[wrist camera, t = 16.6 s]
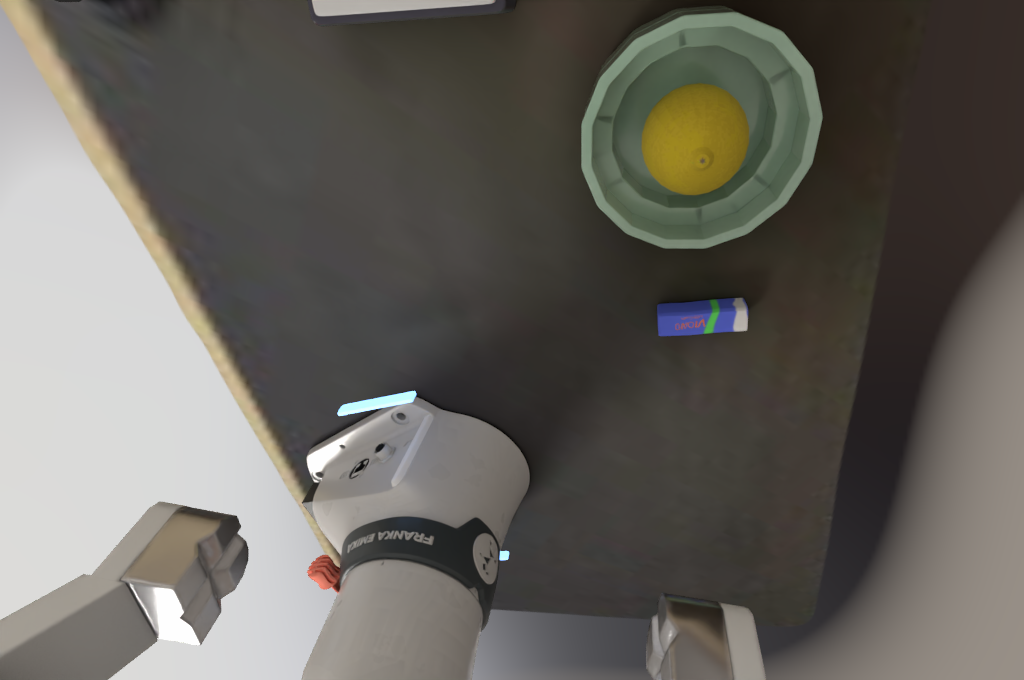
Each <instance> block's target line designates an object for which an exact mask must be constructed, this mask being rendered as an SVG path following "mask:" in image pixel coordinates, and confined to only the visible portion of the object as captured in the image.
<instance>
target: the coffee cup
mask: <svg viewBox="0 0 1024 680" xmlns="http://www.w3.org/2000/svg"><path fill="white" fill-rule="evenodd" d="M56 1H58V2H79V1H81V0H56Z"/></svg>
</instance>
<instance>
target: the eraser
mask: <svg viewBox="0 0 1024 680" xmlns="http://www.w3.org/2000/svg"><path fill="white" fill-rule="evenodd" d="M657 320H658V334H659V336H680V335H696V334H706V333H716V332H733V331H746V330H747V325H748V306H747V304H746V302H745V300H744V298H727V299H713V300H704V301H695V302H685V303H663V304H658V305H657Z"/></svg>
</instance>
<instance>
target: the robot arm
mask: <svg viewBox="0 0 1024 680" xmlns="http://www.w3.org/2000/svg"><path fill="white" fill-rule="evenodd" d="M415 396H416V392H415V391H411V392H406V393H401V394H396V395H391V396H386V397H381V398H376V399H370V400H365V401H360V402H355V403H350V404H345V405H342V406H341V408H340V410H339V411H338V415H339V416H342V415H347V414H352V413H357V412H363V411H368V410H373V409H378V408H382V409H381V410H379V411H377V412H375V413H374V414H372V415H370V416H368V417H366V418H365V419H363V420H361V421H359V422H357V423H356V424H354V425H352V426H350V427H348V428H347V429H345V430H343V431H341V432H339V433H338V434H336V435H334V436H332V437H330V438H329V439H327V440H325V441H323V442H322V443H320V444H318V445H316V446H315V447H313V448H312V449H310V451H309V453H308V455H307V465H308V469H309V472H310V474H311V476H312V478H313V480H314V482H315V483H313V485H312V486H311V488H310V490H309V492H308V493H307V495H306V497H305V498H304V500H303V502H302V504H303V505H304V506H305V508H306V509H307V510H308V512H309V513H310V514H311V516H312V517H313V518H314V520H315V521H316V522H317V524H318V525H319V527H320V529H321V530H322V532H323V533H324V535H325V536H326V537H327V538H328V540H329V541H330V542H331V544H332V545H333V546H334V547H335V549H336V550H337V551H338V552H339V554H340V555H341V563H340V568H339V567H337V566H336V565H335V564H334V563H333V561H332V559H331V558H330V557H329V556H328V555H322V556H320V557H318V558H317V559H316V560H315V561H313V562H312V563H311V564H312V565H311V566H310V567H309V569H310V570H308V572H307V573H308V576H309V577H310V578H311V579H312V580H314V581H315V582H317V583H318V584H319V586H320V588H321V589H329V588H331V587H332V588H333V589H334V590H335V591H336V592H337V593H338V595H337V597H336V599H335V602H334V604H333V606H332V609H331V610H330V613H329V615H328V617H327V620H326V622H325V624H324V626H323V628H322V631H321V633H320V635H319V637H318V640H317V642H316V644H315V646H314V649H313V651H312V653H311V655H310V658H309V660H308V662H307V664H306V667H305V669H304V672H303V676H302V680H472V675H473V668H474V663H475V657H476V651H477V646H478V641H479V636H480V632H481V631H482V630H483V629H484V628H485V626H486V624H487V622H488V619H489V615H490V610H491V606H492V602H493V598H494V593H495V588H496V584H497V578H498V570H499V561H500V560H508V556H509V552H508V551H500V550H501V547H502V544H503V542H504V539H505V536H506V534H507V531H508V528H509V526H510V523H511V521H512V519H513V517H514V514H515V512H516V510H517V508H518V506H519V505H520V503H521V501H522V499H523V498H524V496H525V494H526V492H527V490H528V487H529V482H530V473H529V468H528V465H527V462H526V460H525V457H524V456H523V454H522V452H521V451H520V449H519V448H518V447H517V446H516V445H515V443H514V442H513V441H512V440H511V439H510V438H508V437H507V436H506V435H505V434H504V433H502V432H501V431H499V430H498V429H496V428H495V427H493V426H491V425H489V424H488V423H486V422H483V421H481V420H479V419H476V418H473V417H470V416H467V415H463V414H458V413H453V412H449V411H445V410H442V409H439V408H437V407H436V406H434V405H432V404H430V403H428V402H427V401H425V400H423V399H420V398H418V397H415ZM401 413H403V414H404V415H403V414H401ZM240 528H241V525H240V523H239V520H238V518H237V516H234V515H229V514H224V513H218V512H213V511H207V510H202V509H196V508H191V507H187V506H183V505H177V504H171V503H165V502H158V503H157V504H155V505H153V506H152V507H150V508H149V509H148V510H147V511H146V513H145V514H144V515H143V516H142V517H141V519H140V520H139V521H138V522H137V523H136V524H135V525H134V526H133V528H132V529H131V530H130V531H129V532H128V533H127V534H126V536H125V537H124V538H123V539H122V540H121V541H120V543H119V544H118V545H117V546H116V547H115V548H114V550H113V551H112V552H111V553H110V554H109V555H108V556H107V558H106V559H105V560H104V561H103V562H102V563H101V565H100V566H99V567H98V568H97V569H96V570H95V572H94V573H93V574H92V575H85V574H83V575H81V576H80V577H78V578H76V579H74V580H72V581H71V582H69V583H67V584H65V585H63V586H61V587H60V588H58V589H56V590H54V591H52V592H51V593H49V594H47V595H45V596H43V597H42V598H40V599H38V600H36V601H34V602H32V603H31V604H29V605H27V606H25V607H23V608H21V609H20V610H18V611H16V612H14V613H12V614H11V615H9V616H7V617H5V618H3V619H2V620H0V680H108V679H109V678H110V677H112V676H113V675H114V674H115V673H117V672H118V671H119V670H121V669H122V668H123V667H125V666H126V665H127V664H128V663H130V662H131V661H132V660H134V659H135V658H136V657H137V656H139V655H140V654H141V653H143V652H144V651H145V650H146V649H148V648H149V647H150V646H152V645H153V644H154V643H155V642H157V638H161V639H166V640H172V641H178V642H183V643H189V644H195V645H201V644H202V642H203V641H204V639H205V637H206V636H207V634H208V632H209V631H210V629H211V627H212V626H213V624H214V623H215V621H216V619H217V618H218V616H219V615H220V613H221V598H223V597H224V596H226V595H227V594H229V593H230V592H232V591H233V590H235V588H236V587H237V585H238V583H239V582H240V580H241V578H242V577H243V574H244V571H245V568H246V565H247V562H248V546H247V543H246V541H245V540H244V539H243V538H242V537H241V536H240V535H238V534H237V532H238V531H239V529H240ZM657 609H658V614H657V615H655V616H653V617H652V619H651V622H650V625H649V630H648V636H647V648H646V664H647V665H646V666H647V671H648V673H649V675H650V676H651V678H652V680H766V676H765V671H764V666H763V661H762V656H761V651H760V646H759V641H758V636H757V631H756V627H755V622H754V617H753V615H752V613H751V611H750V609H748V608H746V607H741V606H735V605H730V604H724V603H718V602H716V601H710V600H704V599H698V598H691V597H685V596H679V595H673V594H667V593H663V594H661V595H660V597H659V600H658V602H657Z"/></svg>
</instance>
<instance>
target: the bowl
mask: <svg viewBox="0 0 1024 680" xmlns="http://www.w3.org/2000/svg"><path fill="white" fill-rule="evenodd" d="M697 83H703V84H710V85H715V86H717V87H719V88H721V89H724V90H726V91H727V92H729V93H730V94H731V95H732V96H733V97H734V98H735V99H736V100H737V101H738V102H739V104H740V105H741V107H742V109H743V110H744V112H745V114H746V118H747V121H748V125H749V145H748V149H747V152H746V156H745V159H744V161H743V162H742V164H741V166H740V168H739V170H738V171H737V172H736V173H735V175H734V176H733V177H732V178H731V179H730V180H729V181H728V182H726V183H725V184H724V185H722V186H721V187H720V188H718V189H715V190H713V191H711V192H709V193H704V194H699V195H683V194H680V193H676V192H673V191H671V190H669V189H667V188H666V187H664V186H662V185H661V184H660V183H659V182H658V181H657V180H656V179H655V178H654V177H653V176H652V175H651V173H650V172H649V170H648V168H647V166H646V164H645V162H644V158H643V153H642V149H641V146H642V132H643V129H644V125H645V122H646V119H647V117H648V116H649V114H650V112H651V110H652V109H653V107H654V106H655V105H656V104H657V103H658V102H659V101H660V100H661V99H662V97H664V96H665V95H667V94H668V93H670V92H671V91H673V90H674V89H677V88H679V87H682V86H684V85H688V84H697ZM822 119H823V114H822V109H821V104H820V99H819V94H818V90H817V85H816V80H815V75H814V70H813V68H812V66H811V65H810V64H809V63H808V62H807V60H806V59H805V58H804V57H803V55H802V54H801V53H800V52H799V50H798V49H797V48H796V47H795V46H794V44H793V43H792V42H791V41H790V39H789V38H788V37H787V36H786V34H785V33H784V32H783V31H781V30H779V29H777V28H775V27H773V26H770V25H768V24H766V23H764V22H762V21H759V20H757V19H754V18H752V17H750V16H747V15H745V14H742V13H740V12H738V11H735V10H733V9H730V8H728V7H726V6H706V7H690V8H678V9H674V10H672V11H670V12H668V13H666V14H664V15H662V16H660V17H658V18H656V19H654V20H652V21H650V22H649V23H647V24H645V25H643V26H641V27H639V28H637V29H635V30H634V31H632V32H631V33H630V35H629V36H628V37H627V38H626V39H625V40H624V41H623V42H622V43H621V45H620V46H619V47H618V48H617V49H616V50H615V51H614V52H613V53H612V55H611V56H610V57H609V58H608V59H607V60H606V61H605V62H604V63H603V65H602V66H601V69H600V71H599V74H598V76H597V79H596V81H595V84H594V86H593V89H592V92H591V94H590V97H589V99H588V102H587V104H586V108H585V112H584V116H583V120H582V125H581V167H582V171H583V173H584V176H585V178H586V181H587V183H588V185H589V188H590V190H591V193H592V195H593V197H594V200H595V202H596V204H597V206H598V207H599V208H600V209H601V210H602V211H603V212H604V213H605V214H606V215H607V216H608V217H609V218H610V219H611V220H612V221H613V222H614V223H615V224H616V225H617V226H618V227H619V228H620V229H621V230H622V231H624V232H625V233H626V234H628V235H631V236H633V237H636V238H638V239H641V240H643V241H646V242H649V243H651V244H654V245H656V246H659V247H661V248H688V249H705V248H708V247H711V246H714V245H717V244H720V243H723V242H726V241H729V240H732V239H734V238H737V237H740V236H743V235H746V234H747V233H749V232H751V231H752V230H753V229H755V228H756V227H757V226H759V225H760V224H761V223H762V222H764V221H765V220H766V219H768V218H769V217H770V216H772V215H773V214H774V213H775V212H777V211H778V210H779V209H781V208H782V207H783V206H784V205H786V203H787V202H788V200H789V199H790V197H791V196H792V194H793V193H794V191H795V190H796V188H797V187H798V185H799V184H800V182H801V181H802V179H803V178H804V176H805V175H806V173H807V172H808V170H809V169H810V167H811V166H812V163H813V159H814V155H815V150H816V146H817V141H818V137H819V132H820V128H821V123H822Z"/></svg>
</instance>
